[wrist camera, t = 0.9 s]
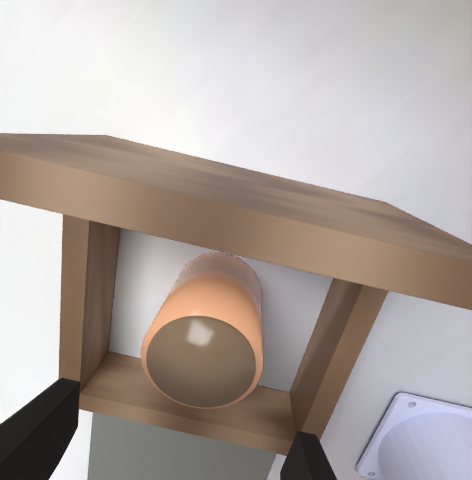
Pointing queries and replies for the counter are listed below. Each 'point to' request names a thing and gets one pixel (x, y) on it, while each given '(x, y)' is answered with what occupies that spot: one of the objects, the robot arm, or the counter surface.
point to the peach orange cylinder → (207, 334)
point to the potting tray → (231, 241)
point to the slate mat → (168, 454)
